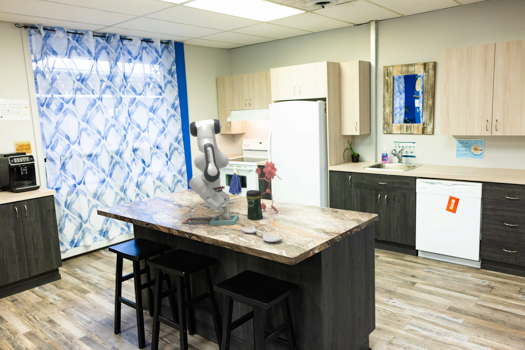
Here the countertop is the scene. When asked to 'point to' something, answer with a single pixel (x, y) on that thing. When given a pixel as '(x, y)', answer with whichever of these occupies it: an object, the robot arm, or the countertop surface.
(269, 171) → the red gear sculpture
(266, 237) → the spoon
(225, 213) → the cream block
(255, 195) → the coffee jar
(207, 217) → the channel
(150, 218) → the countertop surface
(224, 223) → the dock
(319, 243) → the countertop surface
